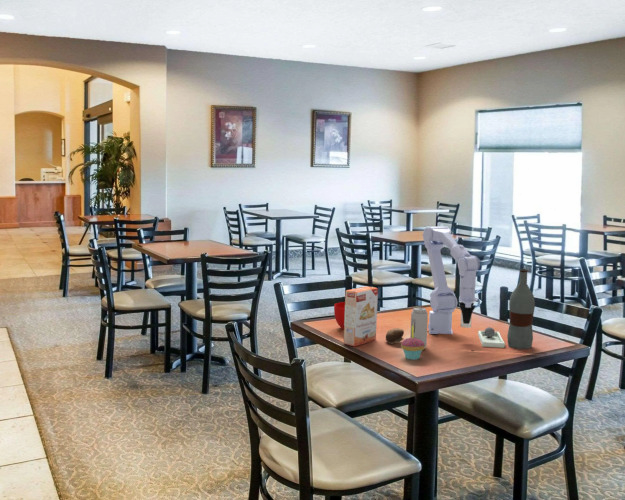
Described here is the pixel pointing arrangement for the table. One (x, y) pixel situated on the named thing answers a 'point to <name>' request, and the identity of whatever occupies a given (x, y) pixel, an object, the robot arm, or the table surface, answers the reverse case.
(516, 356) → the table surface
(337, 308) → the ceramic cup
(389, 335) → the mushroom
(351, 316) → the cracker box
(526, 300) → the bottle
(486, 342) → the tray
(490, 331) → the ball
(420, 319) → the energy drink can
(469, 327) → the shaker
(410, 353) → the cupcake
